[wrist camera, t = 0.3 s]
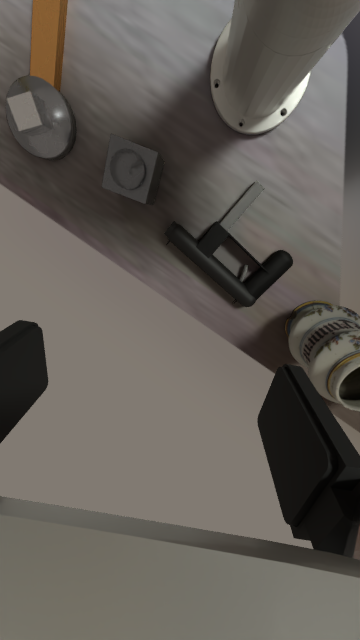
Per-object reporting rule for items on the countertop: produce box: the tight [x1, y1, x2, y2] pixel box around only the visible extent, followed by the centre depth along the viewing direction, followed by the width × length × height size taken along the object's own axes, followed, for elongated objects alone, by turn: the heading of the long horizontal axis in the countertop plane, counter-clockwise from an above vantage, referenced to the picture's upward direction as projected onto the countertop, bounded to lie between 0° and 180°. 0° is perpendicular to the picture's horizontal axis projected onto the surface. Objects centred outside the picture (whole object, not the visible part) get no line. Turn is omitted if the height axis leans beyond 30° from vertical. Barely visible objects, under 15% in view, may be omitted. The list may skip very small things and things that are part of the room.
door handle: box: [164, 181, 293, 307], centre depth 39 cm, size 3×20×16 cm
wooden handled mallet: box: [6, 0, 76, 160], centre depth 30 cm, size 22×9×5 cm, turn 161°
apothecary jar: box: [285, 301, 360, 412], centre depth 37 cm, size 12×12×18 cm
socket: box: [102, 134, 165, 205], centre depth 33 cm, size 6×6×8 cm
